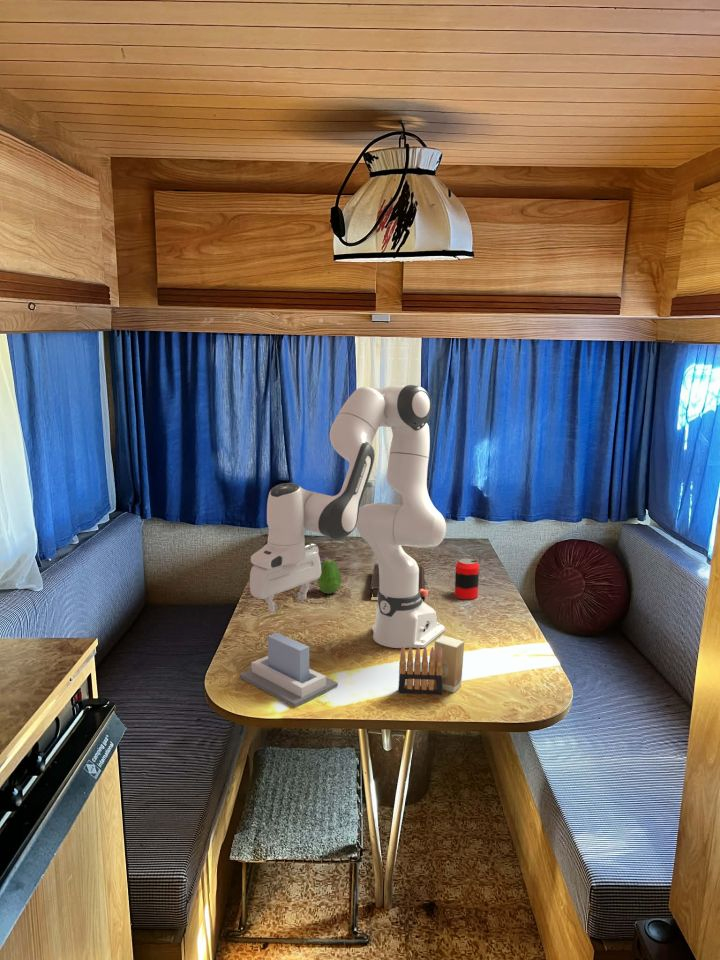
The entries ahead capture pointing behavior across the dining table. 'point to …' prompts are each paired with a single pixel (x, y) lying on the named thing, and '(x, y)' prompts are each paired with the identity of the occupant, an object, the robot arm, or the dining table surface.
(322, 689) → the track base
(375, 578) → the diary
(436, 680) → the ammunition clip
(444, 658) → the skincare box
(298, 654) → the door panel
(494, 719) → the dining table surface
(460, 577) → the soda can
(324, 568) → the avocado
